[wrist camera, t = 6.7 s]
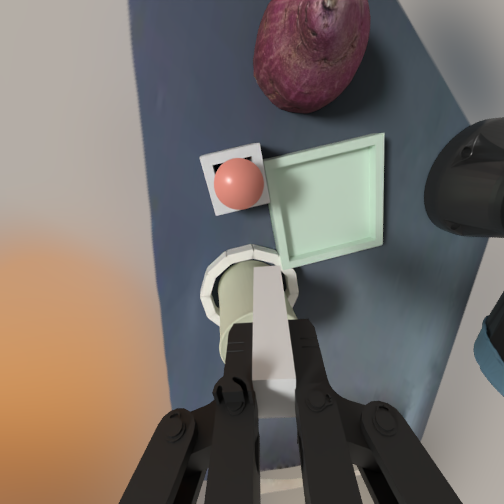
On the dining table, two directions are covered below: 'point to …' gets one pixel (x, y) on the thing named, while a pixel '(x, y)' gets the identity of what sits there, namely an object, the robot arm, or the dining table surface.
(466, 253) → the dining table surface
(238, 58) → the dining table surface
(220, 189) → the button
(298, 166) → the tray
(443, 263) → the dining table surface
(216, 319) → the socket ring
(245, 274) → the can
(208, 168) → the button post
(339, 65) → the vegetable
